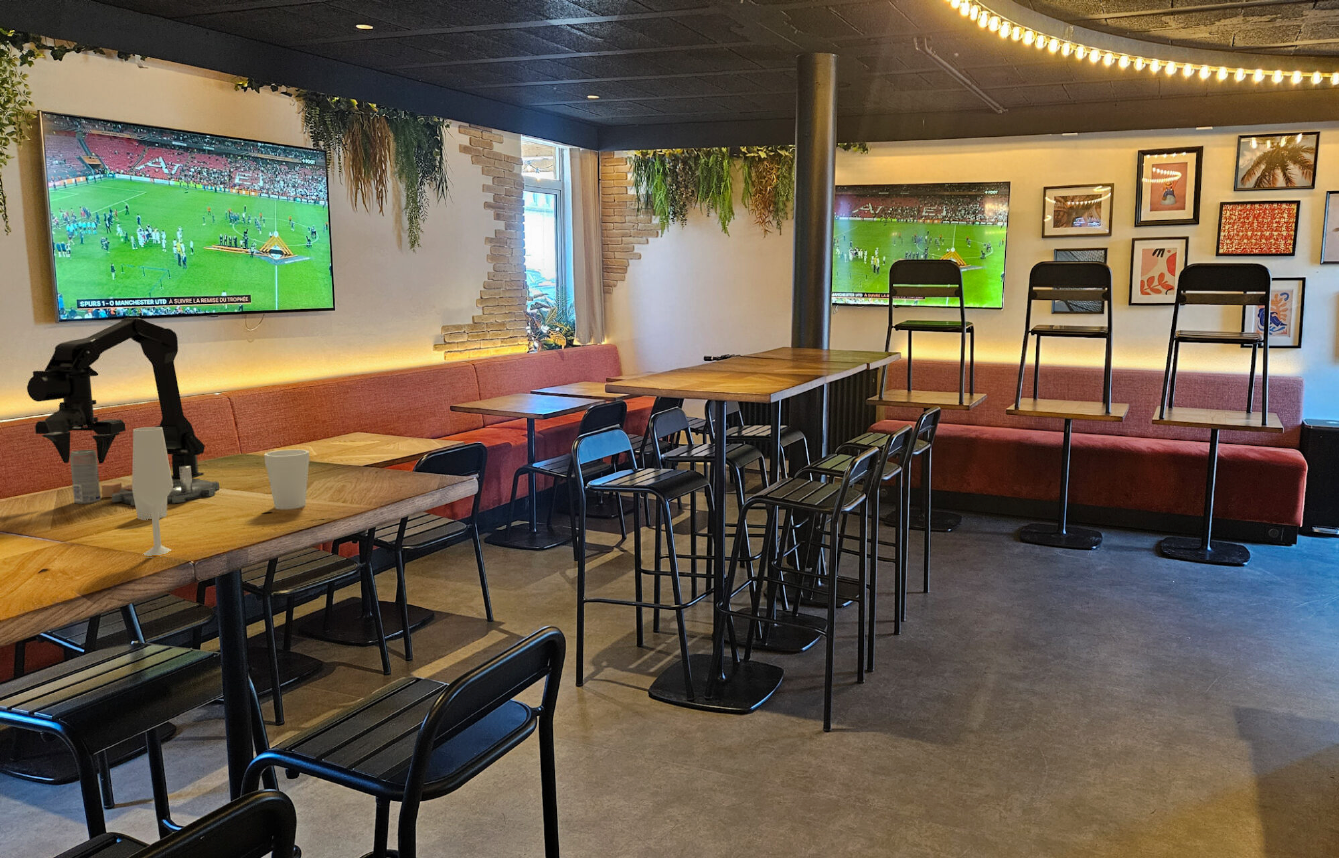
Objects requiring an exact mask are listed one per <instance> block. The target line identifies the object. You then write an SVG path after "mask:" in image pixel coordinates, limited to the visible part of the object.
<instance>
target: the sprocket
mask: <svg viewBox="0 0 1339 858" xmlns="http://www.w3.org/2000/svg"><path fill="white" fill-rule="evenodd" d="M179 470H180V479H172V482H173V488H172V491H171V492H170V494H169V495H168V496H167V504H177V503H178V504H179V503H185V502H189V501H193V499H194V500H198V499H202V498H205V497H212V496H214V495H216V490H220V482H218V481H209V480H205V479H200V478H192V476H191V466H181V467H179ZM118 492H119V493H114V494H111V497H112V498H111V502H113V503H120V502H121V503H122V504H127V505H130V506H135V501H134V496H133V491H132V484H128V485H125V486H122V488H118Z"/></svg>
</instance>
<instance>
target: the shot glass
mask: <svg viewBox="0 0 1339 858" xmlns="http://www.w3.org/2000/svg"><path fill="white" fill-rule="evenodd" d="M132 491H133V490H132ZM133 496H134V501H135V505H134V506H135V510H136V517H137V520H139V519H141V520H140V521H149V520H148V519H152V514H151V505H149V504H146V503H145V502H144V501H142V500H141V499H139V498H138V497H137V496H136V495H135V494H134V492H133ZM158 512H159V519H162V517H163V518H165V517H167V516H168V503H167V497H166V498H165V499H164V500H163V501H162V502H161V503H160V504H158ZM146 519H147V520H146Z"/></svg>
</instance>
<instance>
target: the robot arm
mask: <svg viewBox="0 0 1339 858" xmlns="http://www.w3.org/2000/svg"><path fill="white" fill-rule="evenodd" d="M129 339H131V340H132V341H133V342H135V343H137V344H139V345H140V347H141V350H142V353H143V355H144V356H145V358H146V359H147V360H148V361H149V362H150V363H151V365H152V369H153V375H154V381H155V385H156V391H157V395H158V401H159V406H160V407H159V408H160V412H161V417H162V418H161V421H160V423H159V425H155V426H154V427H162V429H163V434H164V439H165V445H166V450H167V455H171V467H172V468H171V470H172V474H171V477H172V479H176V478H180V470H179V467H181V466H191V476H192V479H194V478H196V477H200V476H203V475H204V472H199V466H198V465H199V463H198V455H199V456H200V455H202V454H204V453H205V447H206V446H205V444H204V443H203V441H201V440H200V439H199V438H198V437H197V436H196V435H195V431H194V428H193V425H192V423H191V422H190V421H189V420H188V418H187V417H186V415H184V412H183V406H182V399H181V395H180V389H179V388H180V387H179V384H178V377H177V373H176V367H175V359H176V356H177V354H178V353H179V345H178V342H179V341H178V335H177V333H176V332H175V331H174V330H172V329H171V328H165V327H163V326H160V325H156V324H155V323H151V322H148V321H146V320H145V319H143V318H141V317H125V318H123V319H121V320H120V321H119V322H117V323H115V324H113V325H111V326H109V327H106V328H104V329H102V330H100V331H98V332H96V333H93V334H92V335H89V336H88V337H84V338H79V339H73V340H69V341H63V342H61V343H59V344H57V345H55V347H54V352H53V353H52V356H51V358H50V360H49V362H48V364H47V365H46V367H45V369H44V370H33V371H32V377H31V378H30V379H29V380H28V383H27V385H26V392H27V394H28V396H29V398H30V399H32V400H33V401H35V402H47V401H56V400H63V401H62V402H59V405H58V410H57V411H55V412H53V413H52V414H50V415H49V416H47V417H46V418H45V419H44V420H39V421H37V422H36V424H35V425H34V429H35V430H34V431H35V434H36V435H40V434H42V435H41V436H42V437H43V438H46V439H48V440H49V441H50V442H51V443H52V444H53V445H54V447H55V449H56V451H57V452H58V454H59V456H60V458H61V459H62V461H63V463H64V464H68V463H69V462H70V455H71V431H82V432H83V431H84V432H85V431H90V432H91V431H93V432H94V433H95V435H91V437H92V438H93V440H94V441H95V442H96V454H97V462H98V464H103V463H104V462H105V460H106V458H107V455H108V453H109V450H110V448H111V445H112V444H113V442H114V440H115V438H116V436H120V433H123V432H126V423H125V422H124V421H123V420H122V419H109V418H108V419H103V420H99V418H98V417H97V416H95V415H94V406H95V405H97V400H96V399H93V396H92V395H93V394H92V383H91V382H92V381H91V377H96V376H99V372H97V371H96V370H94V369H93V368H92V367H91V366H92V365H93V364H94V363H95V362H97V361H98V360H99V359H100V357H101V355H102V354H103V353H104V352H106V351H108V350H110V349H112V348H114V347H116V346H118V345H121V344H122V343H123V342H126V341H127V340H129ZM93 405H94V406H93ZM94 416H95V417H94ZM199 475H200V476H199ZM193 477H194V478H193Z"/></svg>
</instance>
